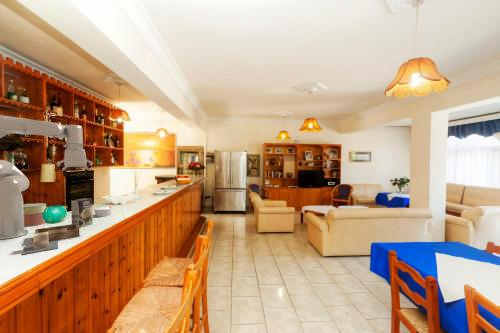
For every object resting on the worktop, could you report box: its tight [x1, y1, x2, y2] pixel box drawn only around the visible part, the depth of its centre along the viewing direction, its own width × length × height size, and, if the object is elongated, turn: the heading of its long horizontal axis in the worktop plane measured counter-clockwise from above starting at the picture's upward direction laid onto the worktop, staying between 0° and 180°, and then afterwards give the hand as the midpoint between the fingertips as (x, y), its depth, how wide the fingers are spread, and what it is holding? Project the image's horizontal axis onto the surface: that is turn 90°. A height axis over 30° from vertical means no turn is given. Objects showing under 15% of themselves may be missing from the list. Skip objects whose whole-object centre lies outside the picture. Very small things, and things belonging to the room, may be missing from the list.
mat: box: [22, 240, 59, 256], centre depth 115 cm, size 12×12×1 cm
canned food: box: [23, 202, 47, 228], centre depth 154 cm, size 11×11×12 cm
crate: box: [34, 223, 81, 242], centre depth 130 cm, size 18×14×4 cm
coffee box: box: [71, 197, 94, 229], centre depth 150 cm, size 9×6×16 cm
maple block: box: [33, 232, 49, 249], centre depth 114 cm, size 5×5×6 cm
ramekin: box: [93, 206, 113, 218], centre depth 177 cm, size 11×11×5 cm
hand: (75, 177), depth 141 cm, fingers open, 9 cm apart
